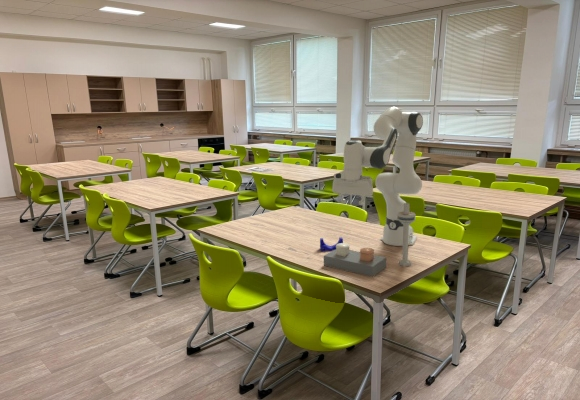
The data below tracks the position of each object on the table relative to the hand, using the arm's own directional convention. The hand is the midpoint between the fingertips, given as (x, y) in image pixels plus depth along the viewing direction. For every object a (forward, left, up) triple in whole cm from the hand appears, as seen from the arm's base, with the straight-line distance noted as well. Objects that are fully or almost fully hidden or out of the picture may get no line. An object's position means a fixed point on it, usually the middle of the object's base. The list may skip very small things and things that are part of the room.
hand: (352, 203), depth 197 cm
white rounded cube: (+4, -3, -26) cm, 27 cm away
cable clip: (-11, -19, -30) cm, 37 cm away
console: (+4, +4, -30) cm, 30 cm away
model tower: (-11, +23, -30) cm, 39 cm away
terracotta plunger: (+4, +10, -26) cm, 28 cm away
